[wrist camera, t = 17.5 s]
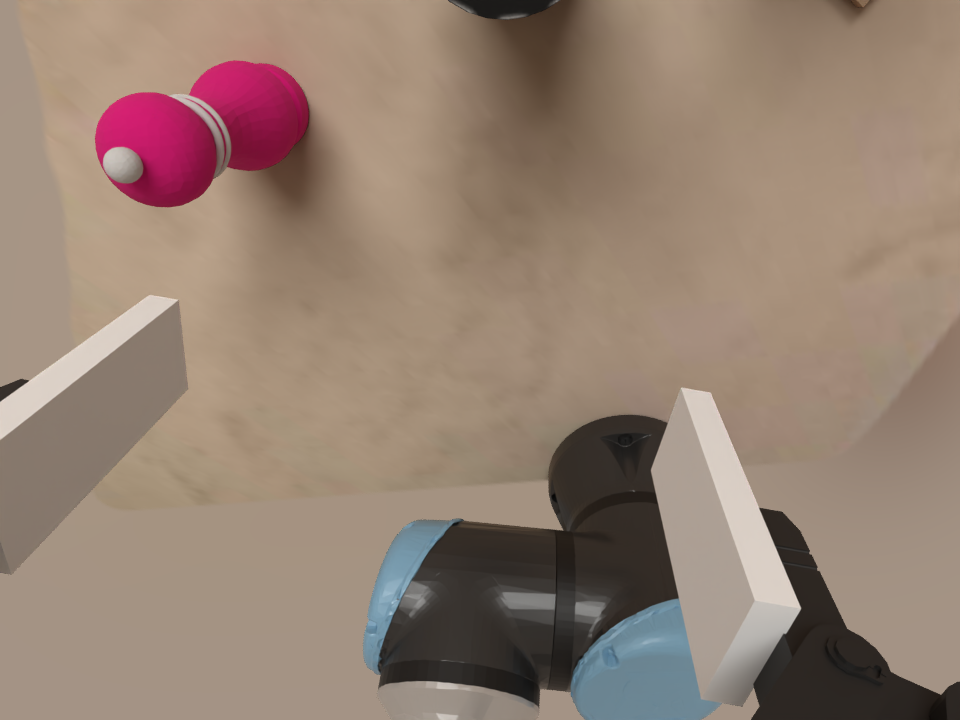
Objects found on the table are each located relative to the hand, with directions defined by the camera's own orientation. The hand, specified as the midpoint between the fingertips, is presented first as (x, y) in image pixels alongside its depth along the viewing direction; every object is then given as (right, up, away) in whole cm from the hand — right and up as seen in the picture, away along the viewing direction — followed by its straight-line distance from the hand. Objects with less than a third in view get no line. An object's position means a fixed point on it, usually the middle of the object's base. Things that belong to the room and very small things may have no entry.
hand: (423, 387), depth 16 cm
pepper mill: (-15, +20, +32) cm, 40 cm away
